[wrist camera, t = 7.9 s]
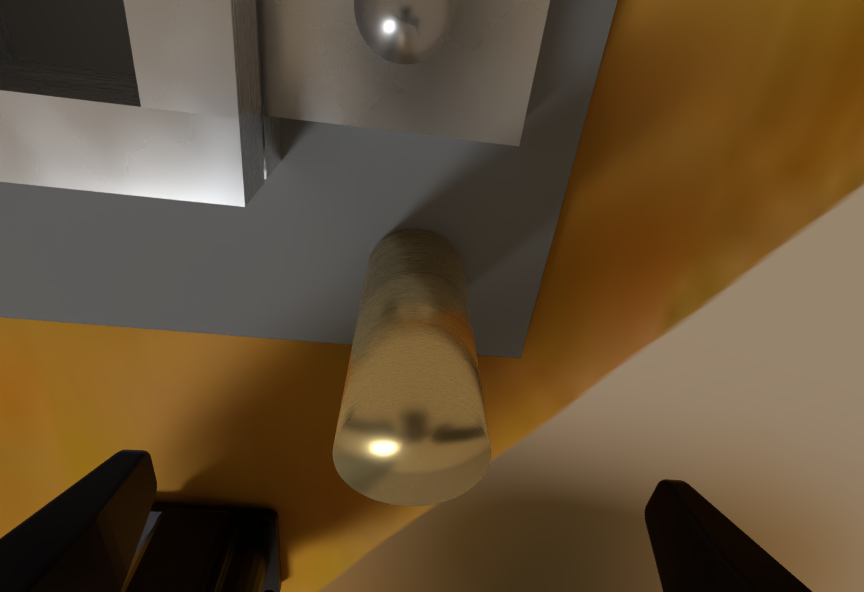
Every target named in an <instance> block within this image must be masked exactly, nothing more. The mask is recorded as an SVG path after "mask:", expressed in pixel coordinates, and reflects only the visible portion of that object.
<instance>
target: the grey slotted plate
mask: <svg viewBox="0 0 864 592" xmlns="http://www.w3.org/2000/svg"><path fill="white" fill-rule="evenodd" d="M549 3H550V0H256V17H257V38H258V59H259V80H260V101H261V122H262V143H263V164H264V179H267V178H268V177H269V176H270V175H271V173H272V172H273V171H274V170H275V168H276V167H277V166H278V165H279V164H280V162H281V129H280V117H281V118H289V119H297V120H306V121H314V122H322V123H330V124H339V125H347V126H355V127H363V128H372V129H380V130H388V131H397V132H405V133H413V134H421V135H430V136H438V137H446V138H454V139H463V140H471V141H479V142H487V143H496V144H504V145H512V146H519V144H520V140H521V135H522V130H523V126H524V121H525V116H526V111H527V107H528V102H529V97H530V93H531V88H532V83H533V78H534V74H535V69H536V64H537V60H538V55H539V50H540V45H541V41H542V36H543V31H544V27H545V22H546V17H547V12H548V8H549ZM0 72H4V73H12V74H20V75H28V76H36V77H44V78H53V79H61V80H69V81H77V82H85V83H93V84H101V85H110V86H118V87H126V88H134V89H138V85H137V79H136V73H134V72H126V71H118V70H110V69H102V68H94V67H86V66H78V65H70V64H63V63H55V62H47V61H39V60H31V59H23V58H18V57H17V53H16V50H15V46H14V42H13V39H12V35H11V31H10V28H9V24H8V20H7V17H6V13H5V9H4V6H3V2H2V0H0Z"/></svg>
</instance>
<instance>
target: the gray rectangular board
mask: <svg viewBox="0 0 864 592" xmlns="http://www.w3.org/2000/svg"><path fill="white" fill-rule="evenodd" d="M617 1H618V0H550V3H549V8H548V12H547V17H546V22H545V27H544V31H543V36H542V41H541V45H540V50H539V55H538V60H537V64H536V69H535V74H534V78H533V83H532V88H531V93H530V97H529V102H528V107H527V111H526V116H525V121H524V126H523V130H522V135H521V140H520V144H519V146H512V145H504V144H496V143H487V142H479V141H471V140H463V139H454V138H446V137H438V136H430V135H421V134H413V133H405V132H397V131H388V130H380V129H372V128H363V127H355V126H347V125H339V124H330V123H322V122H314V121H306V120H297V119H289V118H281V117H280V129H281V162H280V164H279V165H278V166H277V167H276V168H275V170H274V171H273V172H272V173H271V175H270V176H269V177H268V178H267V179H264V184H263V186H262V187H261V188H260V189H259V190H258V192H257V193H256V194H255V195H254V197H253V198H252V199H251V200H250V202H249V203H248V204H247V205H246V206H245V207H240V206H230V205H221V204H211V203H201V202H192V201H182V200H172V199H163V198H153V197H143V196H134V195H124V194H114V193H105V192H95V191H85V190H76V189H66V188H56V187H47V186H37V185H27V184H18V183H8V182H0V317H5V318H18V319H30V320H43V321H56V322H68V323H81V324H94V325H106V326H119V327H132V328H144V329H157V330H170V331H182V332H195V333H208V334H220V335H233V336H245V337H258V338H271V339H283V340H296V341H309V342H321V343H334V344H347V345H352V344H353V338H354V333H355V328H356V322H357V317H358V312H359V306H360V301H361V296H362V290H363V285H364V280H365V274H366V269H367V264H368V260H369V257H370V255H371V253H372V251H373V249H374V248H375V246H376V245H377V244H378V243H379V242H380V241H381V240H383V239H384V238H385V237H387V236H389V235H390V234H393V233H395V232H398V231H401V230H406V229H424V230H429V231H432V232H435V233H438V234H440V235H442V236H443V237H445V238H446V239H448V240H449V241H450V242H451V243H452V244H453V245H454V246H455V247H456V249H457V250H458V252H459V254H460V256H461V258H462V261H463V266H464V273H465V279H466V286H467V293H468V300H469V307H470V313H471V320H472V327H473V334H474V341H475V347H476V354H477V355H486V356H499V357H511V358H520V357H521V354H522V350H523V346H524V343H525V339H526V335H527V332H528V328H529V324H530V321H531V317H532V313H533V310H534V306H535V302H536V299H537V295H538V291H539V288H540V284H541V280H542V277H543V273H544V269H545V266H546V262H547V258H548V255H549V251H550V247H551V244H552V240H553V236H554V232H555V229H556V225H557V221H558V218H559V214H560V210H561V207H562V203H563V199H564V196H565V192H566V188H567V185H568V181H569V177H570V174H571V170H572V166H573V163H574V159H575V155H576V152H577V148H578V144H579V141H580V137H581V133H582V130H583V126H584V122H585V119H586V115H587V111H588V108H589V104H590V100H591V96H592V93H593V89H594V85H595V82H596V78H597V74H598V71H599V67H600V63H601V60H602V56H603V52H604V49H605V45H606V41H607V38H608V34H609V30H610V27H611V23H612V19H613V16H614V12H615V8H616V5H617ZM2 2H3V6H4V9H5V13H6V17H7V20H8V24H9V28H10V31H11V35H12V39H13V42H14V46H15V50H16V53H17V57H18V58H23V59H31V60H39V61H47V62H55V63H63V64H70V65H78V66H86V67H94V68H102V69H110V70H118V71H126V72H134V73H135V67H134V61H133V55H132V49H131V43H130V37H129V31H128V25H127V19H126V13H125V7H124V1H123V0H2Z"/></svg>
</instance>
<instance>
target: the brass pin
mask: <svg viewBox="0 0 864 592" xmlns="http://www.w3.org/2000/svg"><path fill="white" fill-rule="evenodd" d="M332 453H333V462H334V466H335V468H336V470H337V472H338V474H339V475H340V477H341V478H342V479H343V480H344V481H345V482H346V484H348V485H349V486H350V487H351V488H352V489H354V490H355V491H357V492H358V493H360V494H362V495H364V496H366V497H368V498H371V499H373V500H376V501H379V502H383V503H387V504H392V505H400V506H423V505H431V504H436V503H440V502H444V501H447V500H450V499H452V498H455V497H457V496H459V495H461V494H463V493H465V492H466V491H468V490H469V489H471V488H472V487H473V486H474V485H475V484H476V483H478V481H479V480H480V479H481V478H482V477H483V475H484V474H485V472H486V471H487V468H488V466H489V463H490V458H491V449H490V442H489V436H488V429H487V422H486V415H485V409H484V402H483V395H482V388H481V381H480V375H479V368H478V361H477V354H476V347H475V341H474V334H473V327H472V320H471V313H470V307H469V300H468V293H467V286H466V279H465V273H464V266H463V261H462V258H461V256H460V254H459V252H458V250H457V249H456V247H455V246H454V245H453V244H452V243H451V242H450V241H449V240H448V239H446V238H445V237H443V236H442V235H440V234H438V233H435V232H432V231H429V230H424V229H406V230H401V231H398V232H395V233H393V234H390V235H389V236H387V237H385V238H384V239H383V240H381V241H380V242H379V243H378V244H377V245H376V246H375V248H374V249H373V251H372V253H371V255H370V257H369V260H368V264H367V269H366V274H365V280H364V285H363V290H362V296H361V301H360V306H359V312H358V317H357V322H356V328H355V333H354V338H353V344H352V349H351V354H350V360H349V365H348V370H347V376H346V381H345V386H344V392H343V397H342V402H341V408H340V413H339V418H338V424H337V429H336V434H335V440H334V445H333V451H332Z"/></svg>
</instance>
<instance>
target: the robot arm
mask: <svg viewBox="0 0 864 592" xmlns="http://www.w3.org/2000/svg"><path fill="white" fill-rule="evenodd" d="M156 491H157V481H156V477H155V472H154V468H153V464H152V459H151V456H150V454H149V453H148V452H147V451H143V450H122V451H119V452H117V453H116V454H114V455H113V456H112V457H110V458H109V459H108V460H106V461H105V462H104V463H102V464H101V465H100V466H98V467H97V468H95V469H94V470H93V471H91V472H90V473H89V474H87V475H86V476H85V477H83V478H82V479H81V480H79V481H78V482H76V483H75V484H74V485H72V486H71V487H70V488H68V489H67V490H66V491H64V492H63V493H62V494H60V495H59V496H58V497H56V498H55V499H53V500H52V501H51V502H49V503H48V504H47V505H45V506H44V507H43V508H41V509H40V510H39V511H37V512H36V513H34V514H33V515H32V516H30V517H29V518H28V519H26V520H25V521H24V522H22V523H21V524H20V525H18V526H17V527H16V528H14V529H13V530H11V531H10V532H9V533H7V534H6V535H5V536H3V537H2V538H1V539H0V592H280V589H281V565H280V546H279V527H278V515H277V513H276V512H275V511H273V510H271V509H266V508H246V507H225V506H204V505H182V504H161V503H153V502H154V499H155V496H156ZM645 522H646V526H647V530H648V534H649V537H650V541H651V545H652V549H653V553H654V557H655V561H656V565H657V569H658V573H659V577H660V581H661V585H662V589H663V592H812V591H811V590H810V589H809V588H807V587H806V586H805V585H804V584H803V583H802V582H801V581H799V580H798V579H797V578H796V577H795V576H794V575H792V574H791V573H790V572H789V571H788V570H787V569H785V568H784V567H783V566H782V565H781V564H779V562H777V561H776V560H775V559H774V558H773V557H772V556H770V555H769V554H768V553H767V552H766V551H765V550H764V549H763V548H761V547H760V546H759V545H758V544H757V543H755V542H754V541H753V540H752V539H751V538H750V537H749V536H748V535H746V534H745V533H744V532H743V531H742V530H741V529H739V528H738V527H737V526H736V525H735V524H734V523H733V522H731V521H730V520H729V519H728V518H727V517H726V516H725V515H723V514H722V513H721V512H720V511H719V510H718V509H717V508H715V507H714V506H713V505H712V504H711V503H709V502H708V501H707V500H706V499H705V498H704V497H703V496H701V495H700V494H699V493H698V492H697V491H696V490H695V489H694V488H692V487H691V486H690V485H689V484H687V483H686V482H684V481H681V480H667V479H665V480H662V481H660V482H659V483H658V485H657V486H656V488H655V490H654V492H653V494H652V496H651V497H650V499H649V501H648V503H647V505H646V508H645ZM133 559H134V560H133ZM132 561H133V562H132Z"/></svg>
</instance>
